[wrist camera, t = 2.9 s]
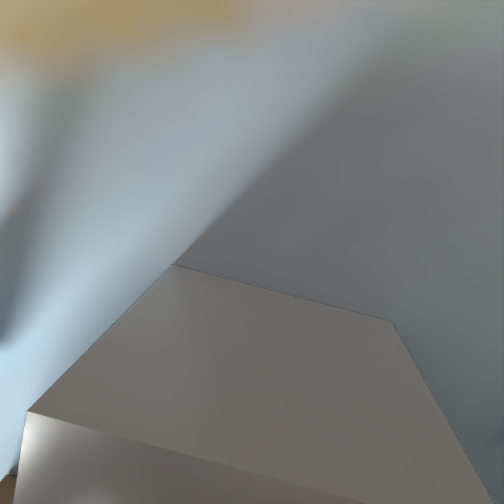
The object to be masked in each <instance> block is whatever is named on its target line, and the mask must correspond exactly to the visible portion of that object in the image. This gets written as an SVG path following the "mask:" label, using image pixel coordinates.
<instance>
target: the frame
mask: <svg viewBox="0 0 504 504" xmlns="http://www.w3.org/2000/svg"><path fill="white" fill-rule="evenodd" d="M16 481H17V477H14V476H11V475H6V476H5V477H4V478H3V479H2V481H1V482H0V504H13V501H14V494H15V487H16Z"/></svg>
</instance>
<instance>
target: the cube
mask: <svg viewBox="0 0 504 504" xmlns="http://www.w3.org/2000/svg"><path fill="white" fill-rule="evenodd" d="M13 504H494V502H493V500H492V498H491V497H490V495H489V493H488V491H487V490H486V488H485V486H484V484H483V482H482V481H481V479H480V477H479V475H478V474H477V472H476V470H475V468H474V466H473V465H472V463H471V461H470V459H469V458H468V456H467V454H466V452H465V451H464V449H463V447H462V445H461V443H460V442H459V440H458V438H457V436H456V435H455V433H454V431H453V429H452V427H451V426H450V424H449V422H448V420H447V419H446V417H445V415H444V413H443V411H442V410H441V408H440V406H439V404H438V403H437V401H436V399H435V397H434V395H433V394H432V392H431V390H430V388H429V387H428V385H427V383H426V381H425V380H424V378H423V376H422V374H421V372H420V371H419V369H418V367H417V365H416V364H415V362H414V360H413V358H412V356H411V355H410V353H409V351H408V349H407V348H406V346H405V344H404V342H403V340H402V339H401V337H400V335H399V333H398V332H397V330H396V328H395V326H394V324H393V323H392V322H391V321H387V320H383V319H379V318H375V317H372V316H368V315H364V314H360V313H356V312H352V311H349V310H345V309H341V308H337V307H333V306H330V305H326V304H322V303H318V302H314V301H310V300H307V299H303V298H299V297H295V296H291V295H287V294H284V293H280V292H276V291H272V290H268V289H264V288H261V287H257V286H253V285H249V284H245V283H242V282H238V281H234V280H230V279H226V278H222V277H219V276H215V275H211V274H207V273H203V272H199V271H196V270H192V269H188V268H184V267H180V266H177V265H173V264H172V265H171V266H170V267H169V268H168V269H167V270H166V271H165V272H164V273H163V274H162V275H161V276H160V277H159V278H158V279H157V280H156V281H155V282H154V283H153V284H152V285H151V286H150V287H149V289H148V290H147V291H146V292H145V293H144V294H143V295H142V296H141V297H140V298H139V299H138V300H137V301H136V302H135V303H134V304H133V305H132V306H131V307H130V308H129V309H128V310H127V311H126V312H125V313H124V314H123V315H122V316H121V317H120V318H119V319H118V320H117V321H116V322H115V323H114V324H113V325H112V326H111V327H110V328H109V329H108V330H107V331H106V332H105V333H104V334H103V335H102V336H101V337H100V338H99V339H98V340H97V341H96V342H95V343H94V344H93V345H92V346H91V347H90V348H89V349H88V350H87V351H86V352H85V353H84V354H83V355H82V356H81V357H80V358H79V359H78V360H77V361H76V362H75V363H74V364H73V365H72V366H71V367H70V368H69V369H68V370H67V371H66V372H65V373H64V374H63V375H62V376H61V377H60V378H59V379H58V380H57V381H56V382H55V383H54V384H53V385H52V386H51V387H50V388H49V389H48V390H47V391H46V392H45V393H44V394H43V395H42V396H41V397H40V398H39V399H38V400H37V401H36V402H35V403H34V404H33V405H32V406H31V407H30V408H29V409H28V410H27V413H26V420H25V427H24V433H23V440H22V447H21V454H20V460H19V467H18V474H17V481H16V487H15V494H14V501H13Z"/></svg>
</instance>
